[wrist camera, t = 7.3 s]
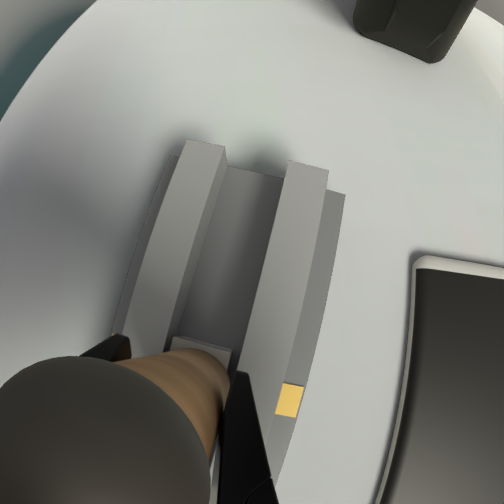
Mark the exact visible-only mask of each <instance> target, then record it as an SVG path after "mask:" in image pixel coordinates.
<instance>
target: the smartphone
mask: <svg viewBox="0 0 504 504" xmlns="http://www.w3.org/2000/svg"><path fill="white" fill-rule="evenodd" d="M375 504H504V268H501V267H495V266H490V265H484V264H478V263H472V262H466V261H461V260H455V259H448V258H442V257H436V256H430V255H425V256H422V257H420V258H419V259H417V260H416V261H415V262H414V264H413V266H412V282H411V305H410V320H409V332H408V343H407V352H406V361H405V369H404V376H403V383H402V390H401V396H400V402H399V407H398V413H397V418H396V423H395V428H394V433H393V438H392V442H391V447H390V451H389V455H388V459H387V463H386V467H385V471H384V474H383V478H382V482H381V485H380V488H379V492H378V495H377V498H376V502H375Z"/></svg>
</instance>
